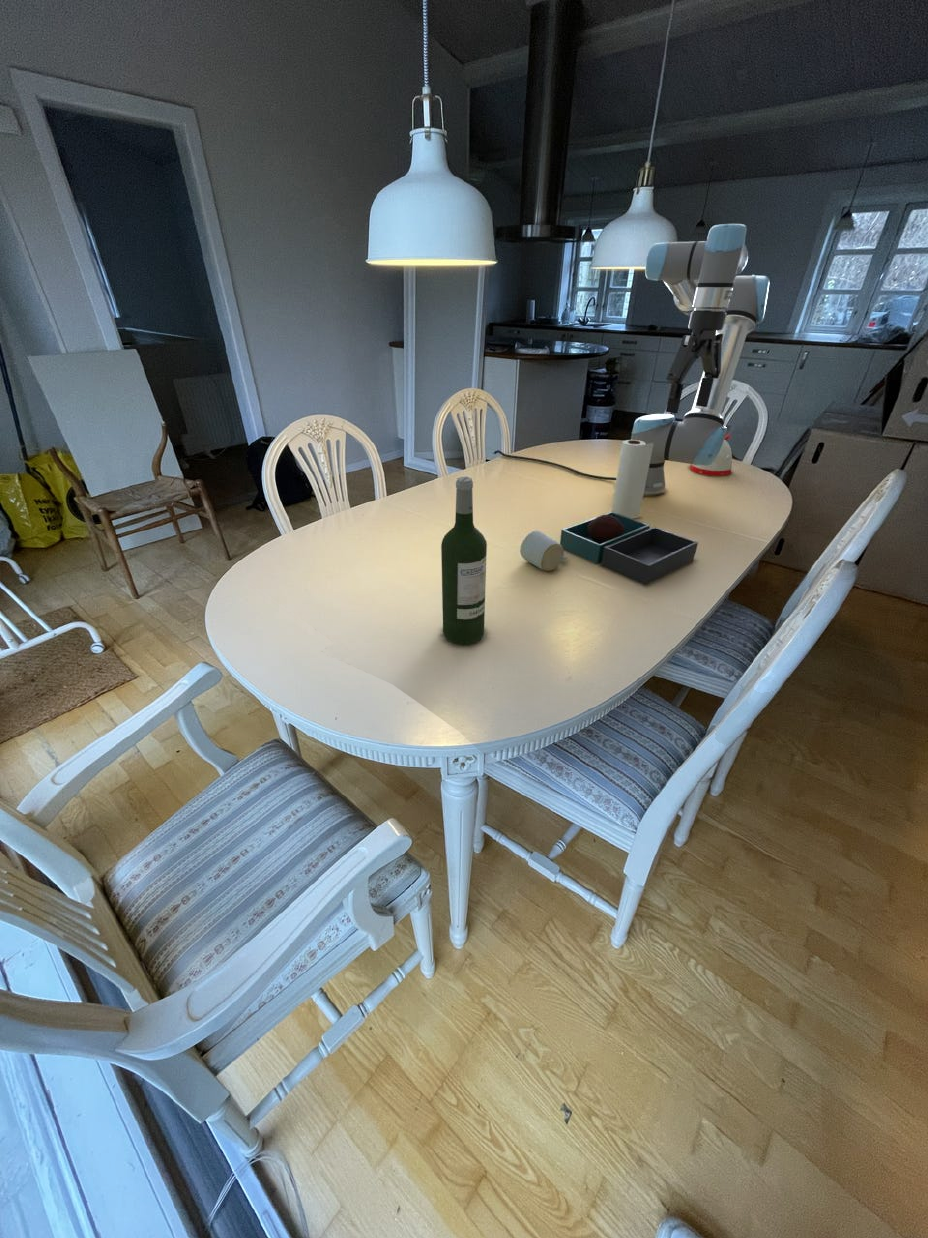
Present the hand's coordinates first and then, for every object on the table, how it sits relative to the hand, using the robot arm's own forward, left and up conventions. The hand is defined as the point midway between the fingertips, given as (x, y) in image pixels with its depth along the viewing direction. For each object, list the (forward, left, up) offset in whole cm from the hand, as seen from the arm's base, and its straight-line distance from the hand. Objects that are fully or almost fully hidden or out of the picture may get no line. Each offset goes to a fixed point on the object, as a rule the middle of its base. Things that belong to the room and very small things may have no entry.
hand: (686, 409), depth 127 cm
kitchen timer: (-19, +61, -31) cm, 71 cm away
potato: (-1, -24, -30) cm, 39 cm away
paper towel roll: (-10, -4, -31) cm, 33 cm away
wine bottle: (+8, -78, -31) cm, 84 cm away
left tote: (-1, -24, -31) cm, 39 cm away
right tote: (+12, -24, -31) cm, 41 cm away
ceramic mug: (-3, -44, -31) cm, 54 cm away
